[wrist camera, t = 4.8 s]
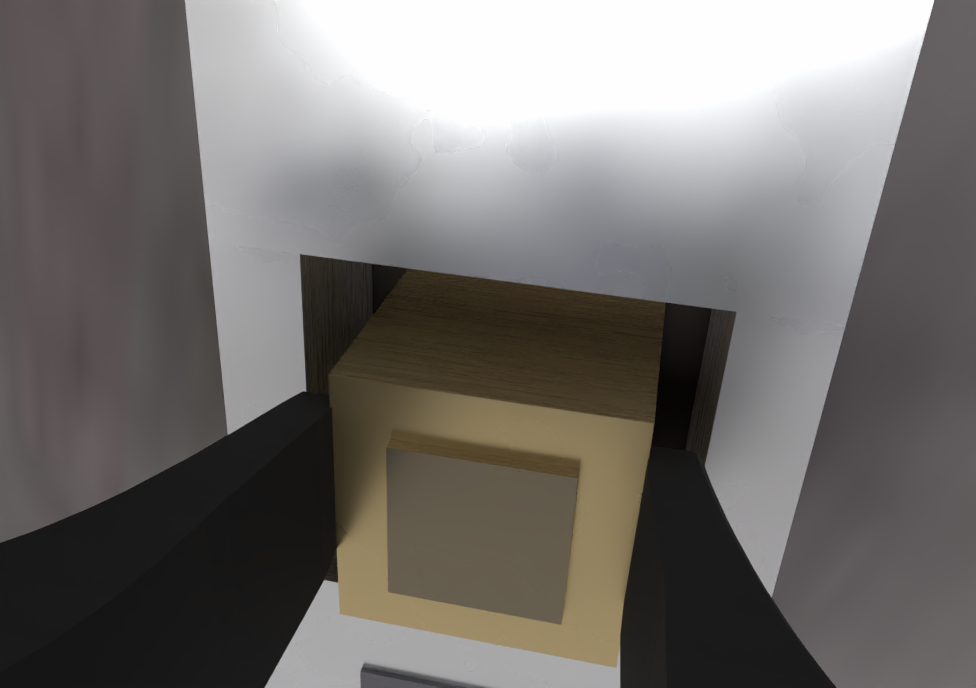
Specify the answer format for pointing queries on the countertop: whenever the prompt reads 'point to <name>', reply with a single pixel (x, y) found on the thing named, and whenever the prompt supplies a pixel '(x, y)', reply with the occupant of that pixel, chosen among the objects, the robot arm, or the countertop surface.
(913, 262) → the countertop surface
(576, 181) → the grey board with holes
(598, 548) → the block
